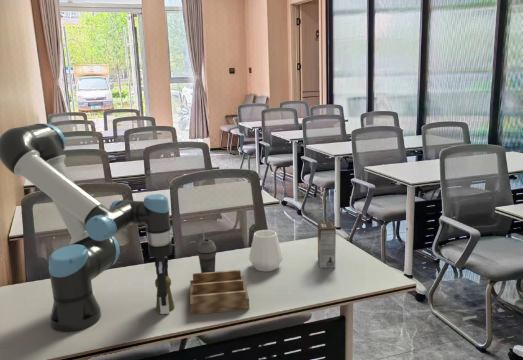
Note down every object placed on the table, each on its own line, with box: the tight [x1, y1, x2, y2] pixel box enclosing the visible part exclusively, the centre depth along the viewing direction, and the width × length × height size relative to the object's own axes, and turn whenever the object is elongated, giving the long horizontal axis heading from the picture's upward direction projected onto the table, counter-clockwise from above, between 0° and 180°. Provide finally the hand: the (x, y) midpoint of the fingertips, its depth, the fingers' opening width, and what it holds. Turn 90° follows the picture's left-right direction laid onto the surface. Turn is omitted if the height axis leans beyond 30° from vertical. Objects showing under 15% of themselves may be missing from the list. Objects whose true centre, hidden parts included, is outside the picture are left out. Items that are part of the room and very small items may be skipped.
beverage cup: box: [196, 228, 217, 273], centre depth 181 cm, size 7×7×20 cm
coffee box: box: [317, 221, 337, 269], centre depth 192 cm, size 9×6×16 cm
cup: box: [248, 229, 284, 272], centre depth 191 cm, size 13×13×14 cm
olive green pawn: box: [154, 275, 175, 314], centre depth 161 cm, size 6×6×11 cm
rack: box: [189, 269, 250, 315], centre depth 167 cm, size 19×18×6 cm
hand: (165, 307), depth 162 cm, fingers open, 7 cm apart
